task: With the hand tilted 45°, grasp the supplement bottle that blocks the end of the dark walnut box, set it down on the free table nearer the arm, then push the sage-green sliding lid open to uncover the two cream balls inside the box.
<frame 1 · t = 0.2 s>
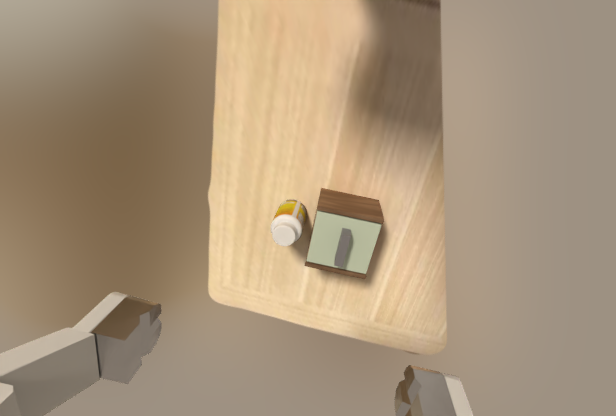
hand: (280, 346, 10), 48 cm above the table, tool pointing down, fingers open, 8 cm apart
supplement bottle: (293, 210, 61), on the table
lid: (342, 246, 52), point 9 cm above the table, slide at 0.0 cm
walnut box: (342, 222, 61), on the table
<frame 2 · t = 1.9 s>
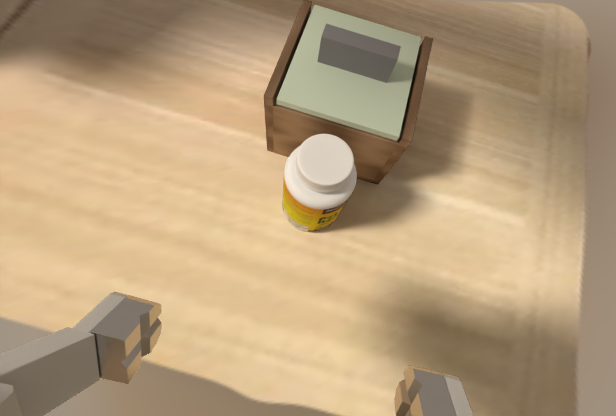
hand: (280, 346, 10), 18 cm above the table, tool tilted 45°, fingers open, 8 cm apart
supplement bottle: (310, 207, 31), on the table
lid: (356, 57, 25), point 9 cm above the table, slide at 0.0 cm
walnut box: (335, 124, 34), on the table
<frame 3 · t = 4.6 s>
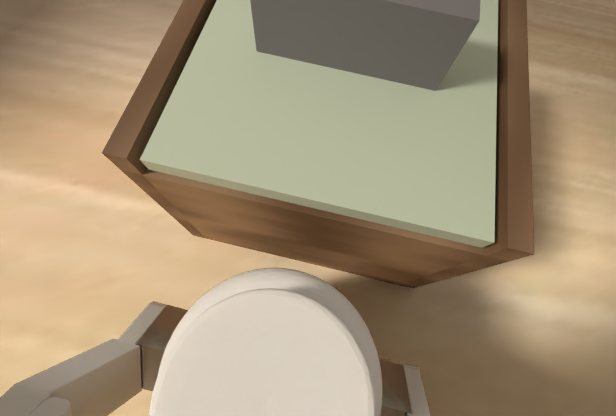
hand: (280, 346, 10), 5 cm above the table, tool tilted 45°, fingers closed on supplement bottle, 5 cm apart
supplement bottle: (280, 352, 15), on the table, touching gripper
lid: (354, 30, 10), point 9 cm above the table, slide at 0.0 cm
walnut box: (323, 171, 18), on the table
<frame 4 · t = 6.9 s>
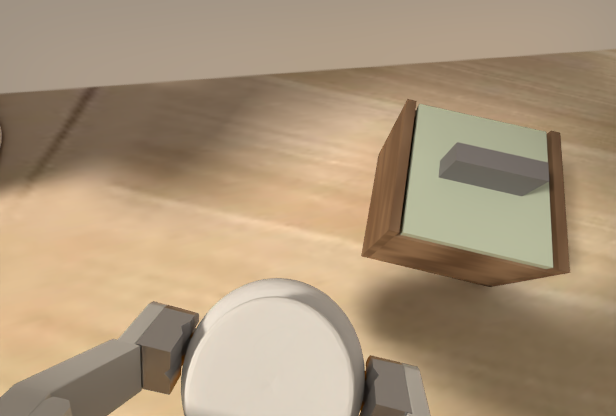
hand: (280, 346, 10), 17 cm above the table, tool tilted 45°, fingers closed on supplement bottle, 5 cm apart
supplement bottle: (280, 351, 17), point 10 cm above the table, touching gripper
lid: (488, 172, 22), point 9 cm above the table, slide at 0.0 cm
walnut box: (430, 216, 30), on the table
when the fingers open (7 cm above the table, at t = 9.2 s): supplement bottle stays where it is, on the table.
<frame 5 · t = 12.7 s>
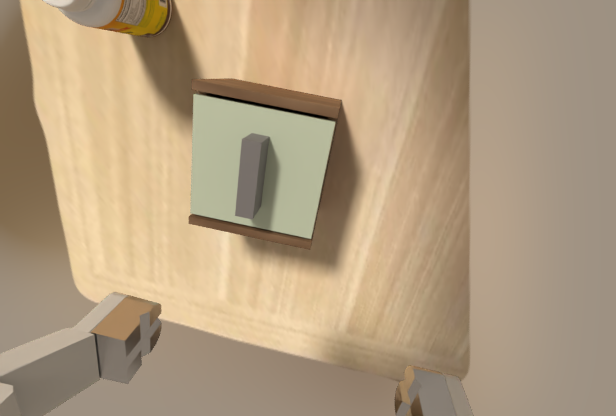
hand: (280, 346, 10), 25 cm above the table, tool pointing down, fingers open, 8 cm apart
supplement bottle: (147, 5, 29), on the table
lid: (253, 175, 24), point 9 cm above the table, slide at 0.0 cm
walnut box: (277, 149, 33), on the table
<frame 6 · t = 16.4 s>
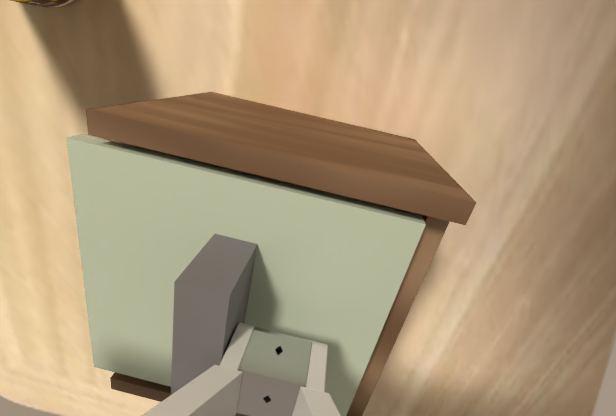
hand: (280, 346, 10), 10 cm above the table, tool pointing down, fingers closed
lid: (216, 329, 10), point 9 cm above the table, slide at 0.9 cm, touching gripper
walnut box: (291, 215, 19), on the table
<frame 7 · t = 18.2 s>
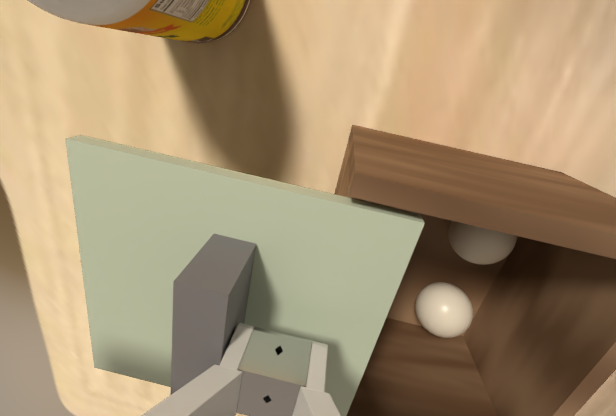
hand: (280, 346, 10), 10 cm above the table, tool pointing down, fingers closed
ball b: (436, 292, 19), point 1 cm above the table, touching walnut box
ball a: (470, 221, 17), point 1 cm above the table, touching walnut box
lid: (216, 329, 10), point 9 cm above the table, slide at 8.6 cm, touching gripper
walnut box: (416, 245, 19), on the table
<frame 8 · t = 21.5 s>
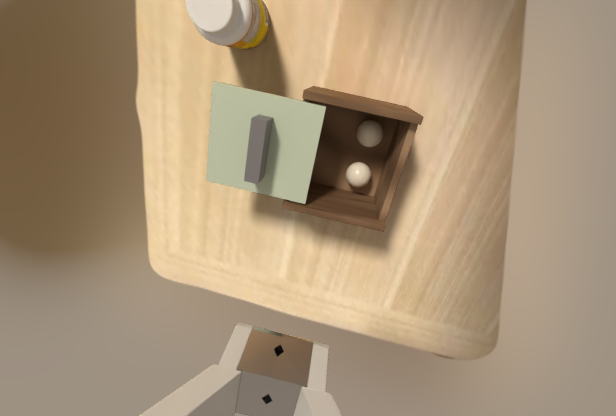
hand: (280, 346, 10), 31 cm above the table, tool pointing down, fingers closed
ball b: (358, 171, 39), point 1 cm above the table, touching walnut box
supplement bottle: (247, 22, 34), on the table
ball a: (369, 131, 37), point 1 cm above the table, touching walnut box
lid: (259, 148, 30), point 9 cm above the table, slide at 8.6 cm
walnut box: (347, 146, 38), on the table
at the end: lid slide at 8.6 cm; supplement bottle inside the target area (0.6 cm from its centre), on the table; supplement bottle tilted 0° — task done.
